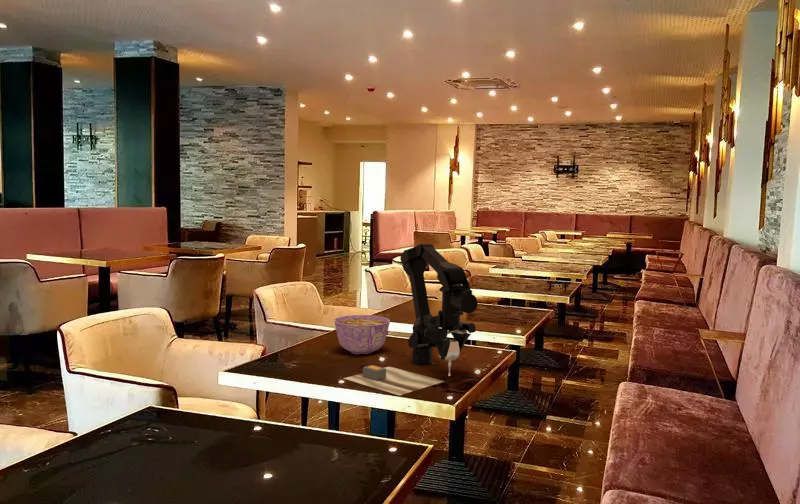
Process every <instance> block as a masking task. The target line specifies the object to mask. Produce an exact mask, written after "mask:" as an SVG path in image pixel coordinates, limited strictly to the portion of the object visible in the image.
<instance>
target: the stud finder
mask: <svg viewBox="0 0 800 504" xmlns="http://www.w3.org/2000/svg"><path fill="white" fill-rule="evenodd" d="M362 373H363V377H364V378H368V379H371V380H375V381H379V380H383V379H386V369H385V367H383V366H382V367H381V366H377V365H375V364H370V365H368V366H367V365H366V366H363V367H362Z"/></svg>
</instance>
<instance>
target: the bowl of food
mask: <svg viewBox="0 0 800 504" xmlns="http://www.w3.org/2000/svg"><path fill="white" fill-rule="evenodd" d="M333 322H334V325H335V331H336V335H337V339H338V343H339V345H340V346H341V347H342V348H344V349H345V350H346V351H348V352H349V353H350V354H354V355H359V354H365V355H370V353H371V354H373V353H374V352H375V351H377V350H379V349H381V348H382V347H383V345H384V344H385V342H386V338H387V335H388V332H389V331H388V330H389V326H390V322H391V320H390V318H387V317H384V316H380V315H372V314H370V315H369V314H351V315H350V314H349V315H343V316H342V315H341V316H339V317H335V318H334V319H333ZM372 352H373V353H372Z"/></svg>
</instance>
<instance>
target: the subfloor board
mask: <svg viewBox="0 0 800 504" xmlns="http://www.w3.org/2000/svg"><path fill="white" fill-rule="evenodd" d="M384 368H385V369H386V379H383V380H379V381H375V380H371V379H368V378H364V377H363V372H362V373H358V374H355V375H351V376H347V377H344V378H343V380H348V381H350V382H352V383H357V384H360V385H364V386H367V387H370V388H373V389H377V390H380V391H384V392H388V393H390V394H393V395H396V396H403V395H405V394H409V393H411V392H416V391H419V390H421V389H425V388H427V387H431V386H433V385H439V384H441V383H444V382H445V380H441V379H438V378H434V377H430V376H427V375H423V374H419V373H415V372H412V371H408V370H405V369H400V368H398V367H397V368H396V367H393V366H385V367H384Z"/></svg>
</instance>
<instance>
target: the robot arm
mask: <svg viewBox="0 0 800 504" xmlns="http://www.w3.org/2000/svg"><path fill="white" fill-rule="evenodd" d="M434 246H435V245H433V244H431V243H419V244H418V245H416V246H414V247H411V248H409V249H404V250H403V252H402V253H401V254H400V263H401V265H402V269H403V271H404V272H405V273H406V275H407V276H408V278H409V283H410V290H411V294H412V295H411V296H412V302H413V308H414V315H415V320H414V323H413V325H412V333H411V335H410V336H409V338H408V339H407V343H408V348H411V349H413V350H412V359H411V360H412V362H411V363H412V364H413V365H417V366H423V365H430V364H432V365H436V362H435V363H434V362H433V348H437V351H438V354H439V357H440V360H442V361H444V360H445V357H446V353H447V349H448V345H449V341H450V339H451V338H448V335H449V334H451V336H452V338H453V339H456V340H458V342H459V348H460V353H459V355H460V354H461V352H462V349H463V348H464V346H465V344H466V342H467V341H468V339H469V337H470V336H471V334H472V333H475V332H476V330H477V329H476V324H475V323H474V322H470V321H464V320H461V316H463V315H464V313H465V314H473V312H474V313H475V311H476V310H477V308H478V305H479V301H478V299H477V297H476V296H475V295H474V294H473V289H471V286H470V285H471V284H470V282H469V280H468V278H467V275H466V272H465V270H464V268H463V267H462V266H460V265H459V264H456V263H452V262H450V261H448V260H447V258H445V257H444V256H443V255H442V254H441V253H439V252H438V251H437V250H436V248H435V247H434ZM428 265H429V266H430V267H431V269H433V270H434V271H435V273H436V274H437V275H436V279H437V280H438V282H439V283H440V285H442V286H441V287H440V288H439V289H438V291H439V292H441V293H442V294H441V310H438V312H437V315H435V316H433V315H432V314H431V311H430V305H429V299H428V292H427V286H426V281H425V276H424V275H425V274H424V273H425V272H426V269H427V266H428Z"/></svg>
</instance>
